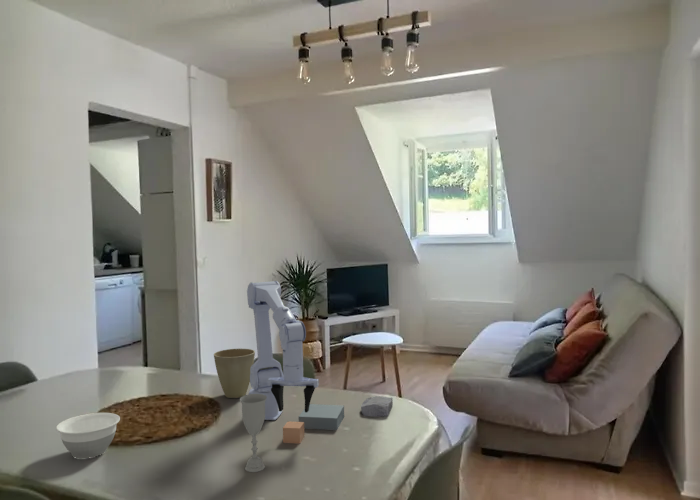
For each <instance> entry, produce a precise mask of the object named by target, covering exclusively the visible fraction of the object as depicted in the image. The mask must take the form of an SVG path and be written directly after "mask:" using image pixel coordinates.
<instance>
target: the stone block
mask: <svg viewBox="0 0 700 500" xmlns="http://www.w3.org/2000/svg"><path fill="white" fill-rule="evenodd" d="M393 400H394V399H393V397H387V396H383V395H381V396H379V395H376V396H372V397H367V398H365V400H364V401H363V402H362V403H361V405H360V410H361V414H362V415H363V416H365V417H380V418H381V417H387V418H388V417H389V415H390V412H391V410H392V408H393Z"/></svg>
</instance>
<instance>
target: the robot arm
mask: <svg viewBox="0 0 700 500" xmlns="http://www.w3.org/2000/svg"><path fill="white" fill-rule="evenodd" d="M246 294H247V295H246V296H247V305H248V308H250V309H251V310H252V311H253V315H254V326H255V327H254V328H255V340H256V350H257V359H256V361H254V364H253V365H252V366H251V368H250V383H249V385H250V387H251V388H250V390H249V392H248V394H247V395H249V394H263V395H265V396H266V397H267V398H266V401H265V419H264V421H277V419H279V417H280V415H281V414H282V413H283V410H284V387H305V388H304V389H303V396H304V409H305V412H308V411H309V405H310V404H311V400H312V397H313V394H314V392H315V390H316V388H319V385H320V384H319V381H320V380H319V378H312V377H311V378H310V377H306V376H304V352H303V351H304V350H303V346H304V345H303V342H305V340H306V337H307V329H306V326H305V324H304V322H303V321H302V320H299V319H297V318H296V317H295V315H294V314H293V312H292V311H291V308H289V307H288V306H285V305H284V302H283V300H282V298H281V296H282V287H281V283H280V282H279V281H278V280H273V281H260V282H259V281H256V282H253V281H251V282H249V284H248V285H247V290H246ZM270 309H271V311H272V312H273V313H272V319H273V321H274V323H275V325H276V327H277V329H278V330H279V331H278V336H279V341H280V348H281V350H282V365H281V363H280V361H278V360H276V359H275V358H274V356H273V354H274V353H273V344H272V334H271V323H270V322H271V321H270ZM282 369H283V370H282Z"/></svg>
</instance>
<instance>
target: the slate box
mask: <svg viewBox="0 0 700 500" xmlns="http://www.w3.org/2000/svg"><path fill="white" fill-rule="evenodd" d="M344 417H345V405H343V404H342V405H341V404H320V403H319V404H317V403H314V404H313V403H310V405H309V411H308V412H305V408H304V409H302V411H301V413H300V414H299V416H298V422H304V430H305V429H307V430H327V431H328V430H329V431H330V430H331V431H338V430H339V427H340V425H341V423H342V422H343V420H344Z"/></svg>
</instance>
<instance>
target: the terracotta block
mask: <svg viewBox="0 0 700 500" xmlns="http://www.w3.org/2000/svg"><path fill="white" fill-rule="evenodd" d="M304 438H305V428H304V422H299V421H288V420H287V422H286V423H285V424H284V425H283V427H282V442H283V443H284V444H301V443H302V442H303V440H304Z"/></svg>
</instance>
